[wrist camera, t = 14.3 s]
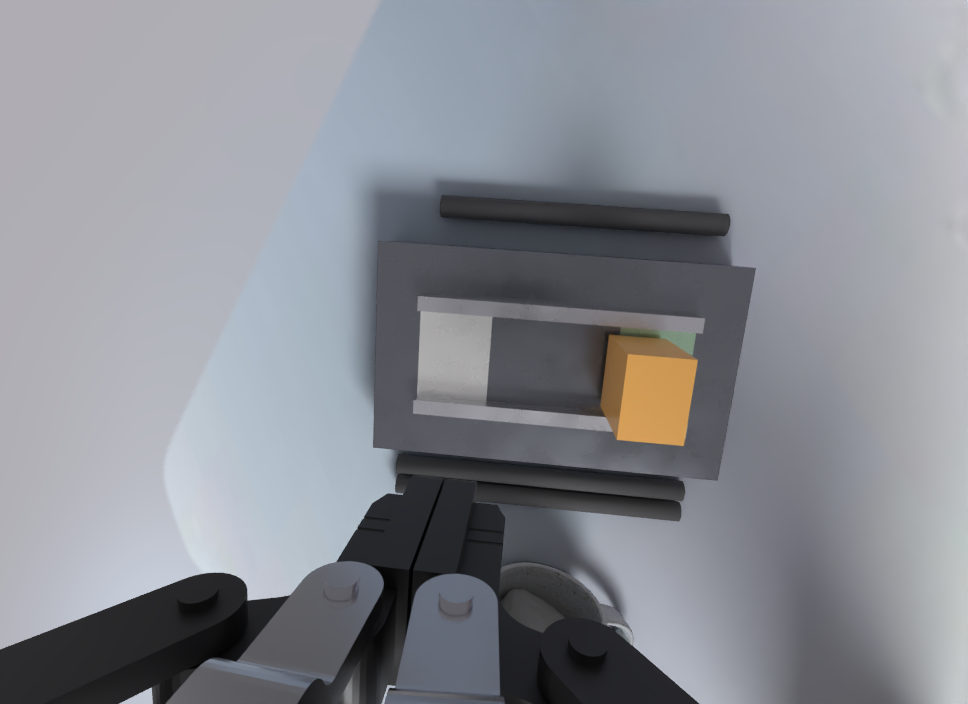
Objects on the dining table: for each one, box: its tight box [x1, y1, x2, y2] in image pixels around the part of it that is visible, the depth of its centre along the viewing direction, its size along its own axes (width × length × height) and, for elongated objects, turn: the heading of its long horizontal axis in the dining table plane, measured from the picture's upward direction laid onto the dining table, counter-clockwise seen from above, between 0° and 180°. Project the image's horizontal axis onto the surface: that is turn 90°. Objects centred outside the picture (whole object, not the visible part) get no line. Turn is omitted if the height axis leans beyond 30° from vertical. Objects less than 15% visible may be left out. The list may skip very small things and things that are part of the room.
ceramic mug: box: [499, 562, 633, 646], centre depth 31 cm, size 11×8×8 cm
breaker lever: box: [600, 334, 698, 446], centre depth 25 cm, size 3×4×5 cm
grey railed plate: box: [395, 195, 730, 521], centre depth 31 cm, size 18×19×1 cm
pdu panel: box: [373, 241, 756, 480], centre depth 29 cm, size 20×12×4 cm, turn 86°
